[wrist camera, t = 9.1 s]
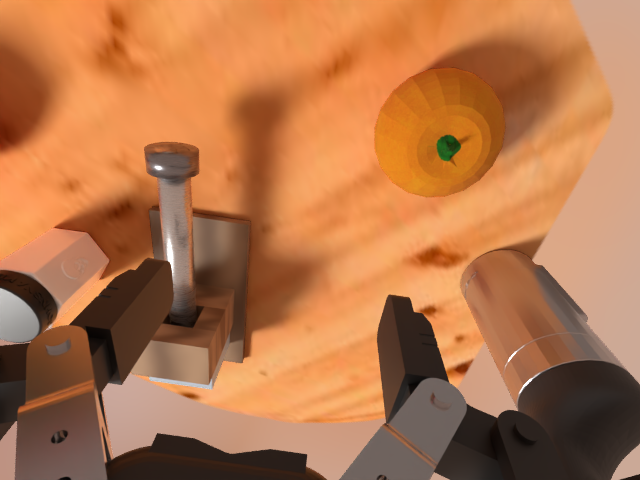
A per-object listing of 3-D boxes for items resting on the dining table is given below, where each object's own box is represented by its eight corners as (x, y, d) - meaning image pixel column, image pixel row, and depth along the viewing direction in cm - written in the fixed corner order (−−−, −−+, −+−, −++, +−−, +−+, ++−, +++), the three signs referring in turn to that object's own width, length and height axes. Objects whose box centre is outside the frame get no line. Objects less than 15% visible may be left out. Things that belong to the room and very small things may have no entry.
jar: (122, 272, 48) (60, 335, 38) (76, 288, 50) (6, 353, 40) (77, 216, 44) (-5, 270, 34) (30, 237, 46) (-62, 293, 36)
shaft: (158, 139, 34) (134, 152, 30) (205, 146, 34) (187, 160, 30) (174, 324, 46) (157, 351, 42) (209, 329, 46) (196, 356, 42)
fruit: (379, 190, 40) (390, 230, 32) (362, 81, 35) (368, 93, 26) (487, 169, 39) (529, 206, 30) (486, 51, 33) (537, 53, 24)
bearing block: (250, 221, 43) (222, 275, 33) (243, 358, 55) (221, 428, 45) (152, 206, 43) (94, 256, 33) (167, 347, 55) (127, 415, 45)
